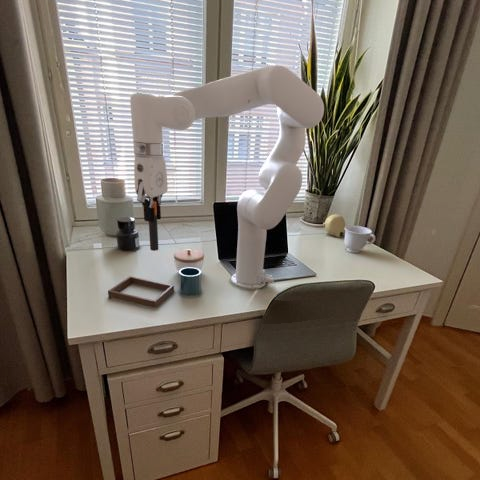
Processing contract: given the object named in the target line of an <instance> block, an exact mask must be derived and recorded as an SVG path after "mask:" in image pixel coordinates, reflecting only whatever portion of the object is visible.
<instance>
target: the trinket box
mask: <svg viewBox="0 0 480 480" xmlns="http://www.w3.org/2000/svg"><path fill="white" fill-rule="evenodd" d="M204 258H205V254H204V252H203V251H201V250H199V249H194V248H183V249H179V250H175V252H174V253H173V259H174V267H175V269H176V271H177V272H178V273H179V270H181V269H183V268H187V267H193V268H197V269H199V270H200V271H201V272H202V269H203V267H204V260H205V259H204Z"/></svg>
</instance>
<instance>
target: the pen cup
mask: <svg viewBox="0 0 480 480" xmlns="http://www.w3.org/2000/svg"><path fill="white" fill-rule="evenodd" d="M178 282H179V283H178V288H179V293H180V294H181V295H183V296H188V297H192V296H193V297H194V296H197V295H199V294H200V293H201V292H202V270H201V271H200V270H199V269H197V268H193V267H187V268H183V269H181V270H179V272H178Z"/></svg>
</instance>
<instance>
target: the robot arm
mask: <svg viewBox="0 0 480 480" xmlns="http://www.w3.org/2000/svg"><path fill="white" fill-rule="evenodd" d="M129 101H130V103H129V104H130V105H129V106H130V116H131V126H132V128H131V131H132V141H133V155H134V164H133V165H134V166H133V169H134V170H133V176H134V177H133V178H134V179H133V180H134V190H135V193H136V195H137V196H136V201H137V202H139V203H141V207H142V208H143V220H144V222H148V223H149V222H155V208H153V201H155V202H156V205H157V220H161V219H162V215H161V214H162V211H161V205H162V198H163V195H164V194H166V193H167V192H168V173H167V165H166V158H165V155H164V129H163V128H165V129H172V130H175V131H185V130H187V129H189V128H190V127H191V126H192V125H193V124H194V122H195V121H197V120H201V119H207V118H225V117H230V116H234V115H237V114H241V113H243V112H247V111H250V110H253V109H256V108H259V107H263V106H266V105H272V106H276V107H277V108H276V111H277V118H278V122H279V135H278V139H277V141H276V142H275V145H274V147H273V149H272V150H271V151H270V153H269V155H268V157H267V158H266V160H265V162H264V163H263V165H262V167H260V170H259V172H258V175H257V176H258V183H259V185H260V186H261V187H262V188H263V189H264V190H266V191H265V192H263V191H260V190H258V189H248V190H245V191H244V192H242V194H240V196H239V198H238V200H237V205H236V212H237V224H238V225H237V226H238V227H237V229H238V230H237V247H236V261H235V265H236V266H235V273H234V274H233V275H232V276H231V278H230V281H231V283H232V284H233V285H234V286H236V287H238V288H243V289H249V290H251V289H257V290H259V289H261V288H263V287H264V286H266V283H268V284H274V281H275V278H274V277H273V275H271V274H267V273H266V270H265V269H264V263H265V254H266V253H265V252H266V242H267V231H268V230H272V229H274V228H275V227H276V226H277V225H279V223H280V222H281V221H282V220H283V218H284V216H285V215H286V214H287V212H288V211H289V209H290V208H291V206H292V205H293V202H294V201H295V199H296V198H297V196H298V195H299V193H300V191H301V189H302V185H303V174H302V171H301V169H300V168H299V166H297V164H298V162H299V160H300V158H301V157H302V155H303V153H304V150H305V148H306V147H305V146H306V139H307V137H306V129H307V130H308V129H313V128H315V127H316V126H317V125H319V123H320V122H321V121H322V119H323V117H324V113H325V105H324V101H323V99H322V97H321V95H320V94H319V93H318V92H317V91H315V90H314V89H313V88H312V87H311V86H310V85H308V84H307V83H306V82H305V81H304V80H303V79H301V78H300V76H298V75H296V73H294V72H293V71H291V70H290V69H289V68H287V67H286V66H283V65H271V66H262V67H258V68H255V69H251V70H248V71H245V72H241V73H238V74H235V75H231V76H228V77H223V78H220V79H217V80H213V81H211V82H208V83H206V84H202V85H199V86H195V87H191V88H188V89H184V90H181V91H178V92H174V93H171V94H167V95H164V96H158V95H156V94H153V93H152V94H151V93H141V92H140V93H139V92H136V93H132V94H131V96H130V99H129Z"/></svg>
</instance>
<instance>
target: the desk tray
mask: <svg viewBox="0 0 480 480" xmlns="http://www.w3.org/2000/svg"><path fill="white" fill-rule="evenodd" d="M131 285H137V286H142V287H146V288H152V289H156V290H161V291H163V292H162V293H160V294H159V295H158V296H157V297H156V298H155V299H151V298H146V297H143V296H137V295H133V294H129V293H125V292H122V291H124V290H125V289H127V288H128V287H130V286H131ZM174 292H175V285H174V284H170V283H164V282H160V281H159V282H158V281H155V280H150V279H147V278H146V279H145V278H140V277H136V276H131V275H129V276H128V277H126V278H125V279H123V280H122V281H121V282H119V283H118V284H116V285H114V286H113V287H111V288H110V289H109V290H107V295H108V296H107V297H108V299H109V300H112V299H115V300H118V301H119V300H120V301H124V302H128V303H132V304H136V305H142V306H146V307H150V308H154V309H156V308H157V307H159V306H160V305H161V304H162V303H163V302H164V301H165V300H166V299H167V298H168V297H170V296H171V295H172V294H173V293H174Z"/></svg>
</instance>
